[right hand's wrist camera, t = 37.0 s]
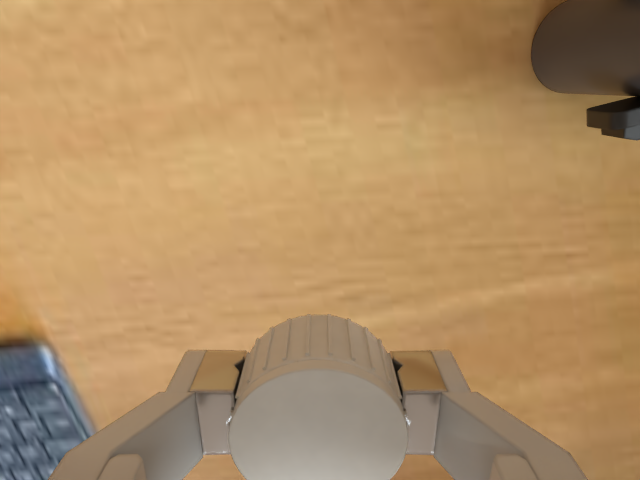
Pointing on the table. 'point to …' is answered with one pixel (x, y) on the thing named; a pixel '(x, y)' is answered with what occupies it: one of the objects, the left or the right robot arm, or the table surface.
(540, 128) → the table surface
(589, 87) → the bottle
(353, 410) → the cap
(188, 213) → the table surface
